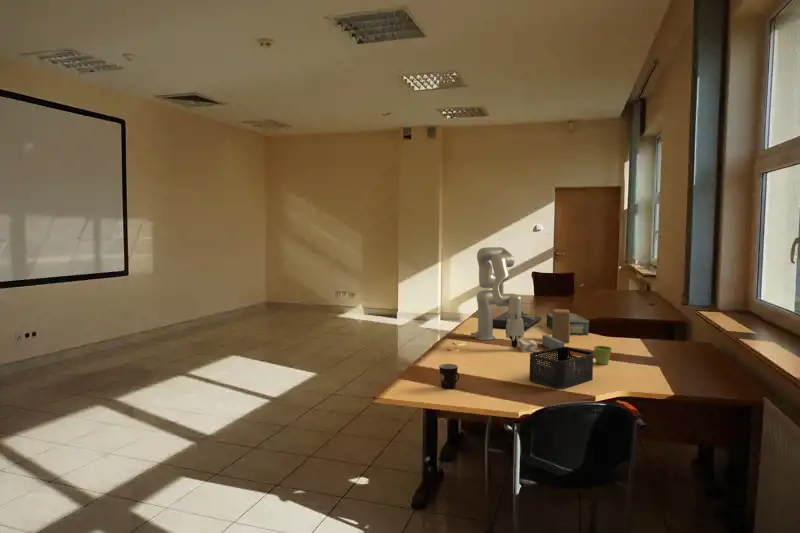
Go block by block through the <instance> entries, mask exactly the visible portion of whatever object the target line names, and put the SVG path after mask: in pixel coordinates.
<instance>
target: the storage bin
mask: <svg viewBox="0 0 800 533" xmlns="http://www.w3.org/2000/svg"><path fill="white" fill-rule="evenodd" d="M571 352H572V353H578V354H582V356H576V355H572V353H571ZM593 371H594V352H592V351H588V350H583V349H579V348H573V347H568V346H564V347H556V348H551V349H550V348H547V349H543V350H539V351H538V350H537V352H529V381H530V382H532V383H536V384H539V385H543V386H547V387H550V388H554V389H555V388H556V389H566V388H567V389H568V388H569V387H573V386H577V385H579V384H580V385H581V384H583V383H586V382H589V381H592V380H593V376H594V375H593V373H594V372H593Z"/></svg>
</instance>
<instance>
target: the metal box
mask: <svg viewBox="0 0 800 533" xmlns="http://www.w3.org/2000/svg"><path fill="white" fill-rule="evenodd" d="M545 316H546V327H547V328H548V329H550V330H551V331H552V320H553V313H546V314H545ZM589 328H590V320H588V319H586V318H584V317H582V316H579V315H578V314H576V313H571V312H570V336H588V335H589Z"/></svg>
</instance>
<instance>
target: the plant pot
mask: <svg viewBox="0 0 800 533" xmlns="http://www.w3.org/2000/svg"><path fill="white" fill-rule="evenodd" d="M593 349H594V354H595V356H594V357H595V362H596V364H598V365H602V366H604V365H608V364H609V362H610V356H611V352H612V350H613V347H612V346H611V347H610V346H606V345H595V346H593Z"/></svg>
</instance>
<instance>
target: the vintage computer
mask: <svg viewBox="0 0 800 533" xmlns="http://www.w3.org/2000/svg"><path fill="white" fill-rule="evenodd" d="M506 315H508V311H505V312H503V313H501V314H499V315H498V316H496V317H493V329H495V330H496V329H497V330H500V329H501V330H506V323H507V319H508V317H506ZM521 318H522V319H523V323H524V332H526V331H528V330H530V328H532V327H534V326H535V325H537V324H538V323H540V322H541V320H543V319H542V316H540V315H534V314H530V313H524V311H523V310H521Z"/></svg>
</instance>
